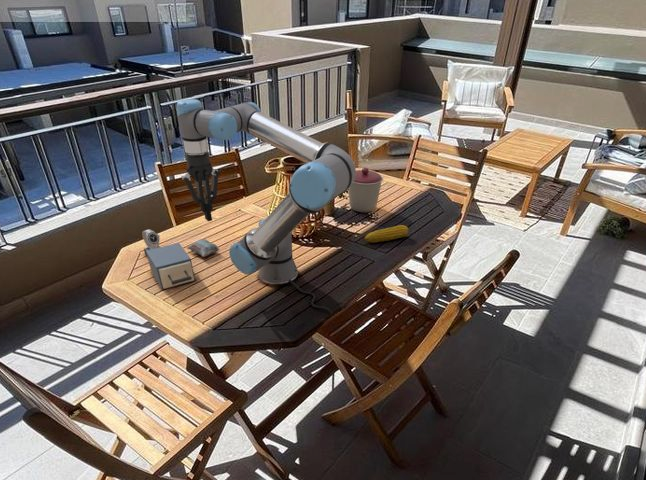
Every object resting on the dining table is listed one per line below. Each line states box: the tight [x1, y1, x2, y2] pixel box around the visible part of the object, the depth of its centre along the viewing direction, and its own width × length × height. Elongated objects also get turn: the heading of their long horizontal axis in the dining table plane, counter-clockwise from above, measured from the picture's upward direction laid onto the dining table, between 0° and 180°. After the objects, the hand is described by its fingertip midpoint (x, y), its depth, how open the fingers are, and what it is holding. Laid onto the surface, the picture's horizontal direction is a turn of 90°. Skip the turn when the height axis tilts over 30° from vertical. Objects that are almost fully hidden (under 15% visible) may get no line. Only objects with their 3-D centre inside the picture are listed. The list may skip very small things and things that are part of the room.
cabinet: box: [146, 242, 196, 290], centre depth 170 cm, size 15×13×10 cm
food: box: [364, 224, 409, 244], centre depth 200 cm, size 21×6×6 cm, turn 115°
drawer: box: [159, 261, 195, 290], centre depth 167 cm, size 20×11×8 cm, turn 33°
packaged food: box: [186, 238, 221, 258], centre depth 187 cm, size 9×12×5 cm
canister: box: [347, 167, 384, 213], centre depth 223 cm, size 18×18×21 cm
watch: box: [142, 228, 161, 257], centre depth 183 cm, size 6×8×11 cm
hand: (208, 219), depth 159 cm, fingers closed
